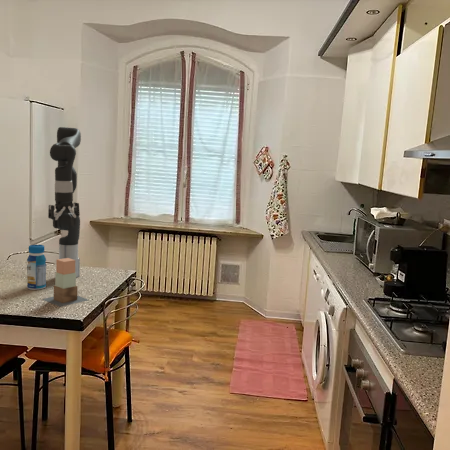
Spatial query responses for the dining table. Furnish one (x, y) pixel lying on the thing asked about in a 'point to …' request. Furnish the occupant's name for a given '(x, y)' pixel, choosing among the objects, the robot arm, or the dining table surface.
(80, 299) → the slate mat
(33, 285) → the beverage bottle
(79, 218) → the robot arm
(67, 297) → the walnut block
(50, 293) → the dining table surface
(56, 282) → the sage block
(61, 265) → the terracotta cube
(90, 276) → the dining table surface
